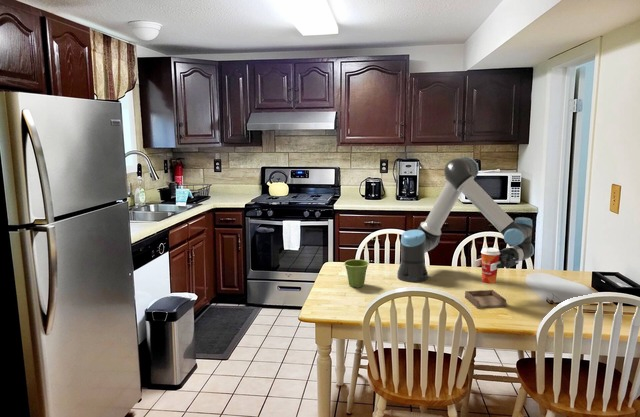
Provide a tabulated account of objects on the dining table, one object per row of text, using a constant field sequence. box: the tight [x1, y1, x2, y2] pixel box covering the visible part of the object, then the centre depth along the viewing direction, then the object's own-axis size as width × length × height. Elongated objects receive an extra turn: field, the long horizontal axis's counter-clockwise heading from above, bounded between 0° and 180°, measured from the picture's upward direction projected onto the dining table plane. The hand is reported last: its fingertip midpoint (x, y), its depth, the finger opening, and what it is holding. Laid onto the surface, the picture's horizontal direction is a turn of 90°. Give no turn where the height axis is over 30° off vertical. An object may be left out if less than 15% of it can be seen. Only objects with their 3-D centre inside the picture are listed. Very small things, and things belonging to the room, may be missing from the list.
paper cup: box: [480, 247, 500, 285], centre depth 194 cm, size 8×8×14 cm
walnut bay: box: [464, 289, 507, 309], centre depth 197 cm, size 13×13×3 cm
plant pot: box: [343, 259, 370, 288], centre depth 221 cm, size 12×12×11 cm
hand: (483, 265), depth 191 cm, fingers closed on paper cup, 7 cm apart
